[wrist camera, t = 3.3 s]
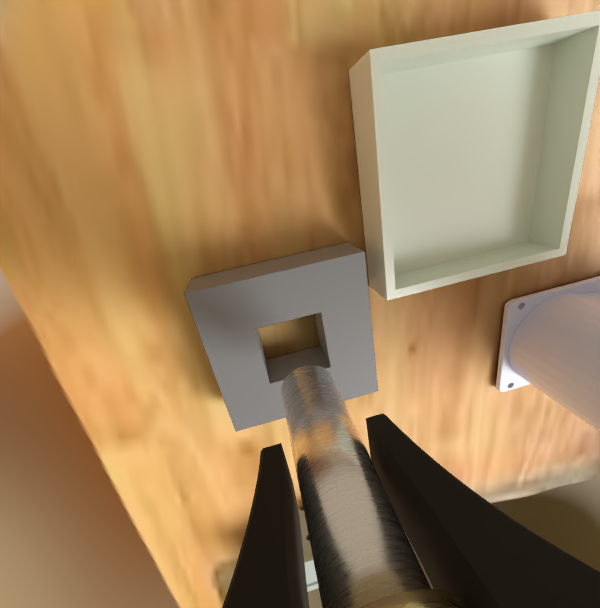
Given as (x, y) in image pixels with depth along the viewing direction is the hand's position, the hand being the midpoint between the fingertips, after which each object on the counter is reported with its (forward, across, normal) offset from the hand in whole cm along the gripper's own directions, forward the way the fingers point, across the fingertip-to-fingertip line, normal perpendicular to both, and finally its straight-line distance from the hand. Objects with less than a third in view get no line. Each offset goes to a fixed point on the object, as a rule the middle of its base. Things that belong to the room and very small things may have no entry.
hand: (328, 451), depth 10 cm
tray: (+9, -11, -7) cm, 16 cm away
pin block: (+9, 0, 0) cm, 9 cm away
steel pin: (+3, 0, 0) cm, 3 cm away
